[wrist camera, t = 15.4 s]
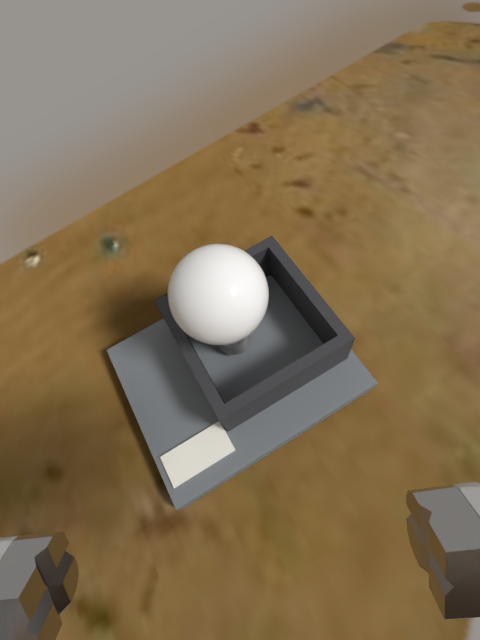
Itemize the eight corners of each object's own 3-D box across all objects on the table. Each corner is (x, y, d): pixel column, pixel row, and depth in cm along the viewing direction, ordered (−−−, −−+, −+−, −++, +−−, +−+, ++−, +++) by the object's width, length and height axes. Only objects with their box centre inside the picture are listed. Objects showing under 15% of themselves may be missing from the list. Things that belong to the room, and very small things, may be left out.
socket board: (181, 509, 27) (157, 511, 22) (114, 356, 33) (83, 330, 29) (373, 388, 29) (390, 365, 25) (277, 264, 36) (274, 226, 31)
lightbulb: (187, 326, 32) (140, 247, 22) (255, 297, 33) (239, 207, 23) (213, 393, 29) (173, 336, 19) (287, 359, 30) (285, 288, 20)
